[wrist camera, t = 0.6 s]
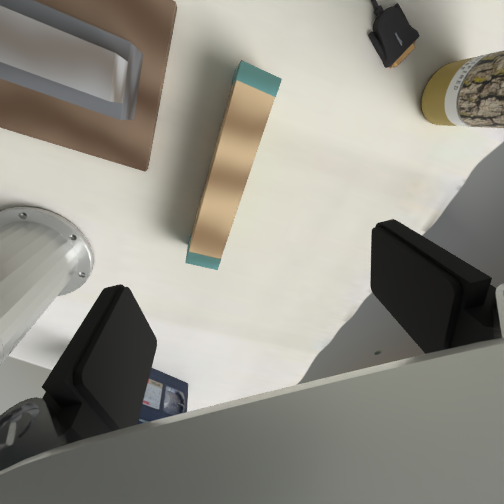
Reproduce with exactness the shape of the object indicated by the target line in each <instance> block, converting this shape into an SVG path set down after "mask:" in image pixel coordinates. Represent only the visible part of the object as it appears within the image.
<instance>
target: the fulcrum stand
mask: <svg viewBox="0 0 504 504" xmlns="http://www.w3.org/2000/svg"><path fill="white" fill-rule="evenodd" d="M176 11H177V5H176V2H175V1H173V0H0V127H1V128H4V129H7V130H10V131H14V132H17V133H20V134H24V135H27V136H30V137H33V138H37V139H40V140H43V141H47V142H50V143H53V144H56V145H60V146H63V147H66V148H70V149H73V150H76V151H79V152H83V153H86V154H89V155H93V156H96V157H99V158H102V159H106V160H109V161H112V162H116V163H119V164H122V165H125V166H129V167H132V168H135V169H139V170H142V171H146V170H147V169H148V165H149V160H150V154H151V149H152V143H153V138H154V132H155V127H156V121H157V116H158V110H159V105H160V99H161V94H162V88H163V83H164V77H165V72H166V66H167V61H168V55H169V50H170V44H171V39H172V33H173V28H174V22H175V17H176Z"/></svg>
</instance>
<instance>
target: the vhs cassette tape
mask: <svg viewBox="0 0 504 504" xmlns="http://www.w3.org/2000/svg"><path fill="white" fill-rule="evenodd" d="M187 400H188V383H186V382H183V381H181V380H179V379H177V378H174V377H172V376H170V375H167V374H165V373H163V372H160V371H158V370H155V369H153V368H151V372H150V376H149V380H148V384H147V388H146V392H145V396H144V400H143V404H142V408H141V412H140V416H139V420H138V424H142V423H146V422H150V421H154V420H158V419H162V418H166V417H170V416H174V415H178V414H182V413H186V412H187ZM138 424H137V425H138Z"/></svg>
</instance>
